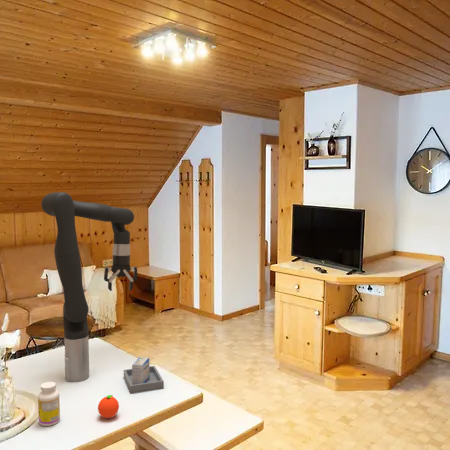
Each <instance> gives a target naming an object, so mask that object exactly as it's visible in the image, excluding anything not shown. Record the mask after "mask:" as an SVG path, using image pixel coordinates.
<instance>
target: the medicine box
mask: <svg viewBox="0 0 450 450" xmlns="http://www.w3.org/2000/svg"><path fill="white" fill-rule="evenodd" d="M149 366H150V357H146V356H140V357H138V358H137V359H136V360H135V361H134V362H133V363H132V365H131V369H132V383H133V385H135V384H142V383H146V382H147V380H148V379H149V378H150V371H149Z"/></svg>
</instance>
